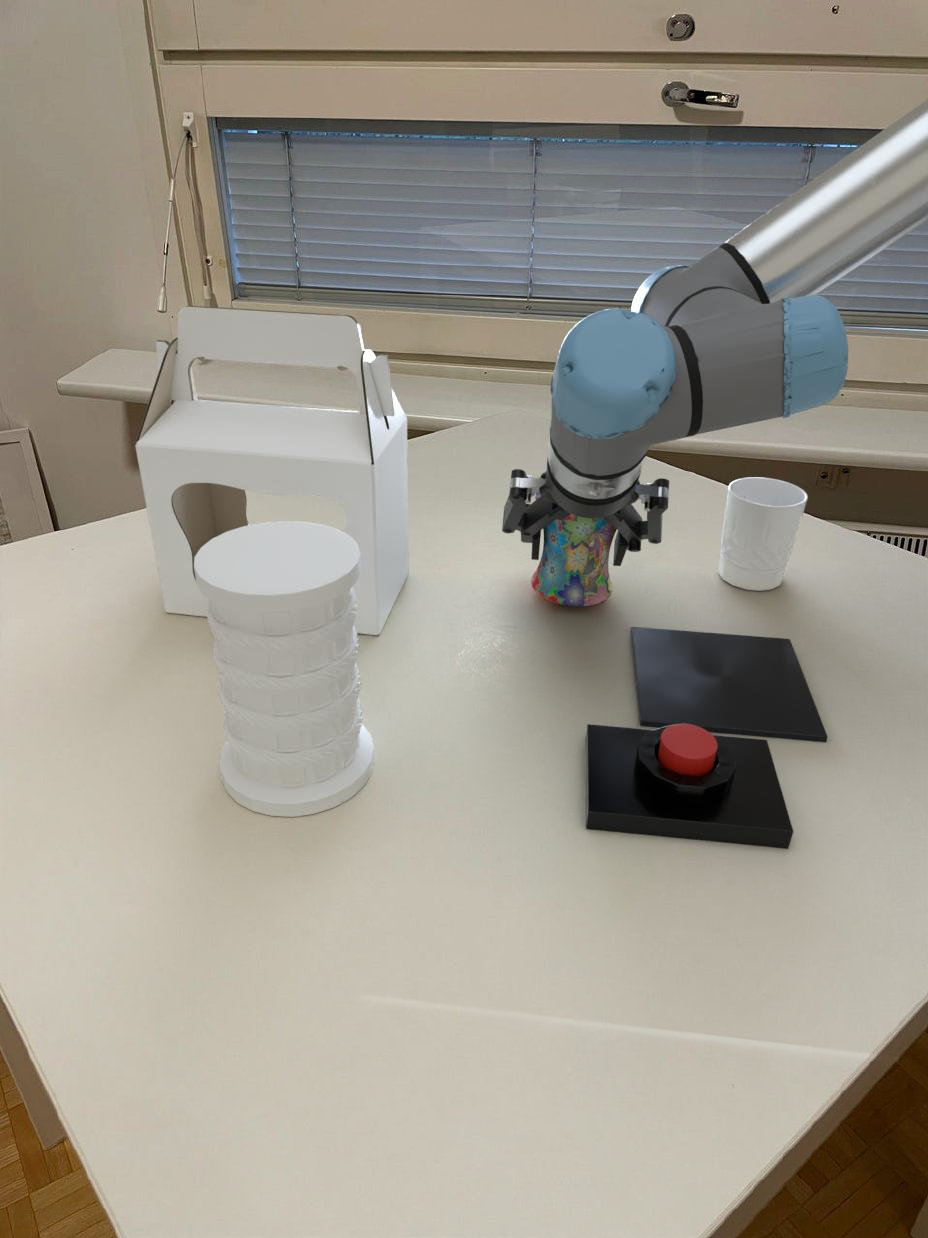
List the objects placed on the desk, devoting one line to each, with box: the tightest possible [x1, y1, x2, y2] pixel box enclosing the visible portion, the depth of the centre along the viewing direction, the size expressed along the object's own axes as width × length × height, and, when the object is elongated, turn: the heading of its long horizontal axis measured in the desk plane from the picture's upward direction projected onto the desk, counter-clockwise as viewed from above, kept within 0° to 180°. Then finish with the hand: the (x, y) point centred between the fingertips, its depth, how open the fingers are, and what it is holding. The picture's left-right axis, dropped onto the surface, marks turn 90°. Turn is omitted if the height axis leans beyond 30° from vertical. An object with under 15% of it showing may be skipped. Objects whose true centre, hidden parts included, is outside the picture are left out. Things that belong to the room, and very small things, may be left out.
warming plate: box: [630, 626, 829, 743], centre depth 78 cm, size 15×15×1 cm
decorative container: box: [194, 520, 375, 818], centre depth 62 cm, size 12×12×18 cm
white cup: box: [717, 476, 809, 592], centre depth 93 cm, size 8×8×10 cm
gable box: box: [134, 305, 410, 637], centre depth 83 cm, size 22×13×28 cm, turn 81°
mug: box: [530, 492, 618, 607], centre depth 87 cm, size 12×9×11 cm
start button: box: [658, 724, 718, 776], centre depth 63 cm, size 4×4×2 cm
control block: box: [584, 723, 794, 850], centre depth 64 cm, size 14×10×4 cm
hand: (576, 550), depth 91 cm, fingers closed on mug, 8 cm apart
